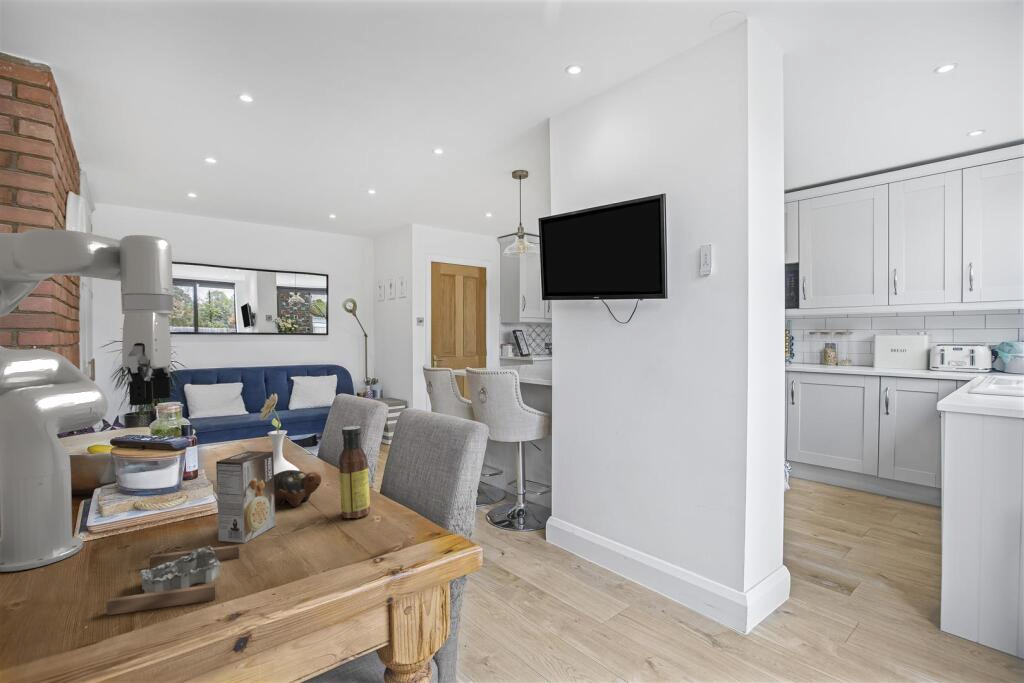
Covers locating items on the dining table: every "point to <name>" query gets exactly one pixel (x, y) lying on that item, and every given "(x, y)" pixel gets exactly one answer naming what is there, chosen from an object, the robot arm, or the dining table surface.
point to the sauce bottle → (353, 475)
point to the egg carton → (182, 572)
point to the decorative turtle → (294, 486)
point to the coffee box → (245, 496)
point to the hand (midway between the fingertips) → (151, 401)
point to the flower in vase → (276, 437)
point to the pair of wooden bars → (171, 596)
